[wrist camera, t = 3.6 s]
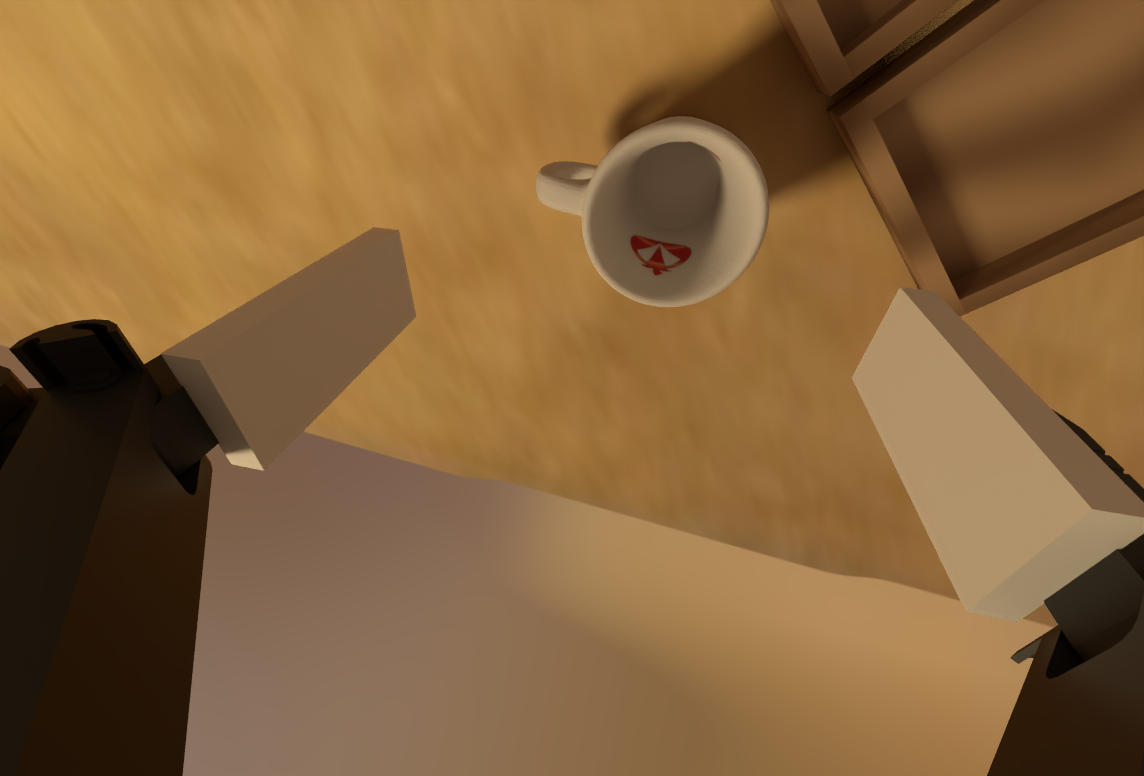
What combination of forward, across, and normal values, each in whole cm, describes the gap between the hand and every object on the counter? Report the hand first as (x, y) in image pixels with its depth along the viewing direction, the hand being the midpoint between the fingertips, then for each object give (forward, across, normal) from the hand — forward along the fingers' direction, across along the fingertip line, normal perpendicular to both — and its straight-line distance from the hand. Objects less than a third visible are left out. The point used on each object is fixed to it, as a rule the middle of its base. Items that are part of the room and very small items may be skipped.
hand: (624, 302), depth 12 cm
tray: (+17, +17, +3) cm, 24 cm away
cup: (+17, 0, 0) cm, 17 cm away
